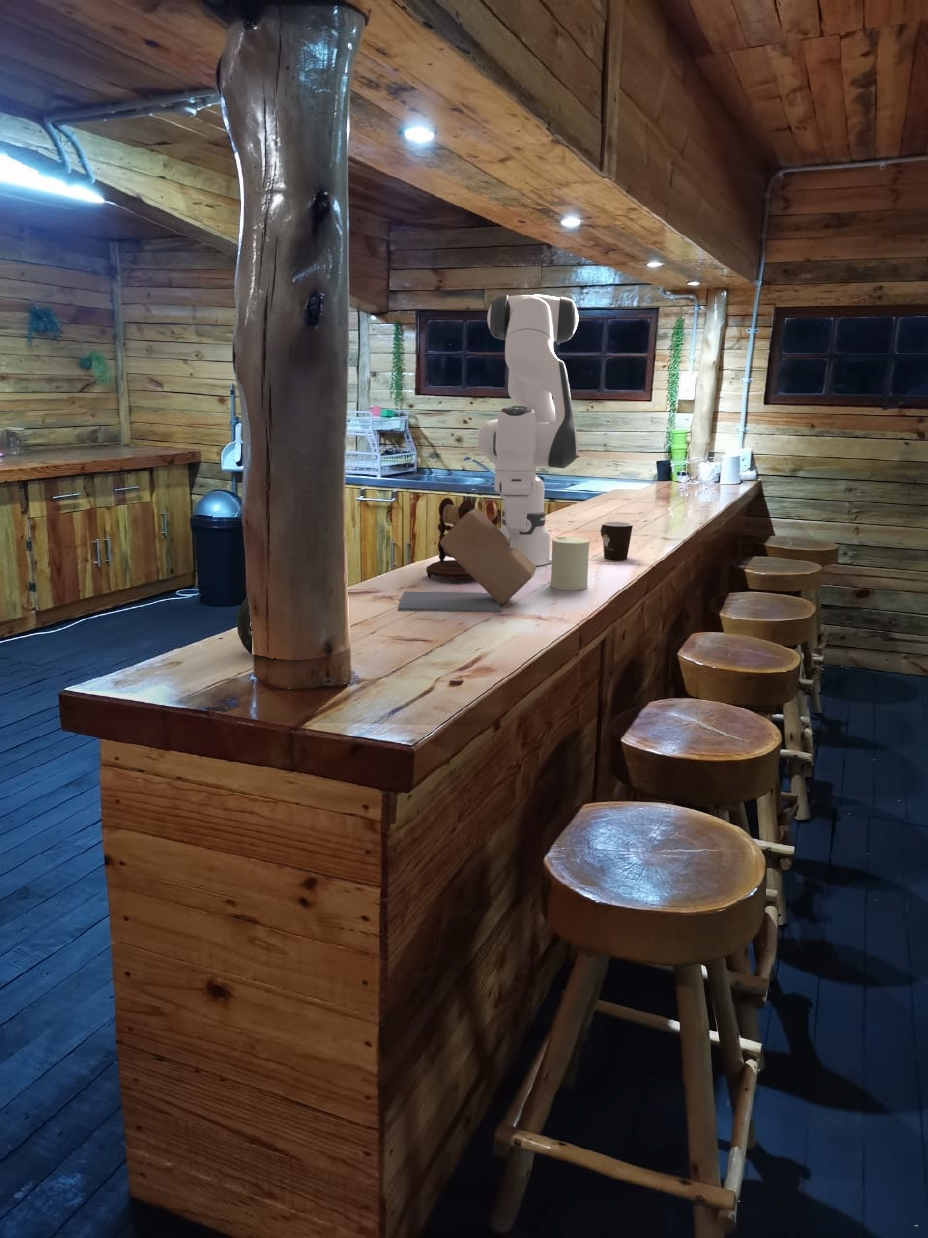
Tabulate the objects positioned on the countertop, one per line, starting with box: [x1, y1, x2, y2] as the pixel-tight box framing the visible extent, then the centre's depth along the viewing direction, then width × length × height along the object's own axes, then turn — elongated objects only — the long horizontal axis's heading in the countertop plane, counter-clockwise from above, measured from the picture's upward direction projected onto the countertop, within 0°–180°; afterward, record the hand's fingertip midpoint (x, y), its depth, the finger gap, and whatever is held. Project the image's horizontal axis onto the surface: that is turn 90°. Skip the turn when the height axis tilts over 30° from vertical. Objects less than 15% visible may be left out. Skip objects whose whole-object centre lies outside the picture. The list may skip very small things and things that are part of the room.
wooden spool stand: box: [425, 497, 475, 585], centre depth 224 cm, size 15×15×20 cm
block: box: [440, 507, 537, 605], centre depth 200 cm, size 10×10×20 cm
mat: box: [397, 590, 501, 613], centre depth 201 cm, size 16×22×1 cm
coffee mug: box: [600, 521, 634, 562], centre depth 255 cm, size 12×9×10 cm
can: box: [549, 536, 591, 592], centre depth 217 cm, size 9×9×12 cm
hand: (513, 546), depth 197 cm, fingers open, 3 cm apart
